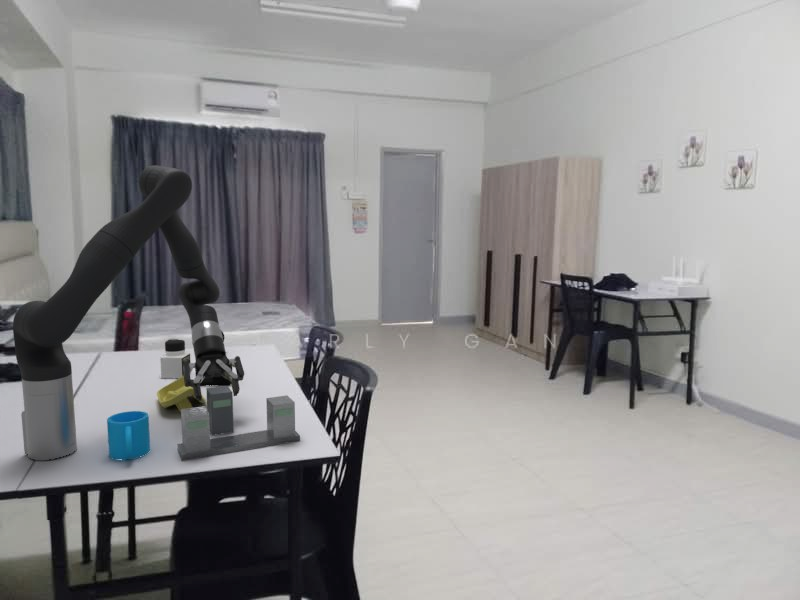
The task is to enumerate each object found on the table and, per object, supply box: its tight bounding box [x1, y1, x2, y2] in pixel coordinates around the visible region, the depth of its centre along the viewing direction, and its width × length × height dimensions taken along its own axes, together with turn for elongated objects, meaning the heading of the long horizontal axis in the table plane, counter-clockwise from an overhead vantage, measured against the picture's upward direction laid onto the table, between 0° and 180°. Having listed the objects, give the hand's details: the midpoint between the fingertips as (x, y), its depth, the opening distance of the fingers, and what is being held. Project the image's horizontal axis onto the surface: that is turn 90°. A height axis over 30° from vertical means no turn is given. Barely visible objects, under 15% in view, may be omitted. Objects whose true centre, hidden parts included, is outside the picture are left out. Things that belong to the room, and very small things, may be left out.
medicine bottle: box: [159, 338, 192, 379], centre depth 190 cm, size 7×7×12 cm
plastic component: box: [156, 376, 206, 413], centre depth 160 cm, size 20×7×10 cm
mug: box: [106, 410, 151, 461], centre depth 125 cm, size 12×8×8 cm
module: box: [205, 386, 235, 436], centre depth 141 cm, size 5×6×10 cm
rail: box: [177, 395, 301, 461], centre depth 132 cm, size 26×7×9 cm, turn 117°
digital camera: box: [194, 364, 233, 387], centre depth 181 cm, size 10×5×7 cm, turn 94°
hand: (218, 396), depth 143 cm, fingers open, 8 cm apart
